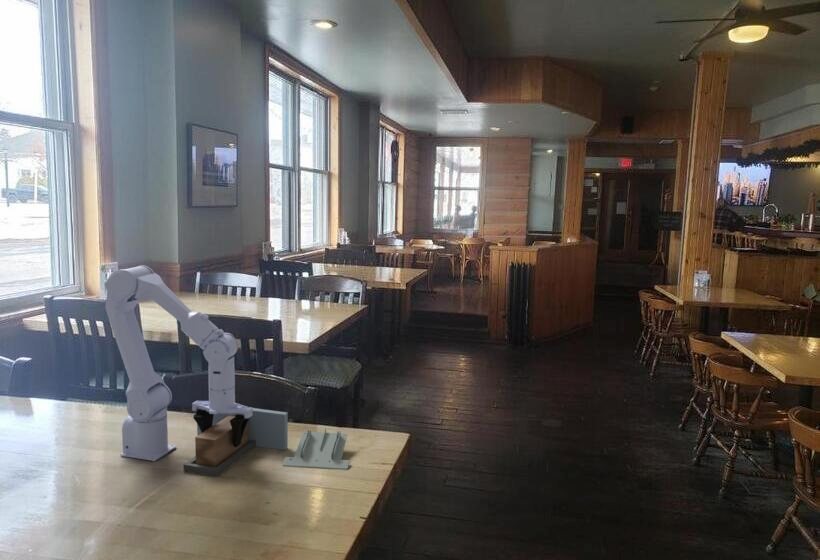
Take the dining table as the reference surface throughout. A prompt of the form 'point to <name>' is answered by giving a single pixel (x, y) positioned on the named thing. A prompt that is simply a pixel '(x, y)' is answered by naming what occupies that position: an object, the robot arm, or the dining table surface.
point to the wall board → (249, 438)
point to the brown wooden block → (217, 443)
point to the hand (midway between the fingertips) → (222, 443)
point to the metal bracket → (319, 451)
